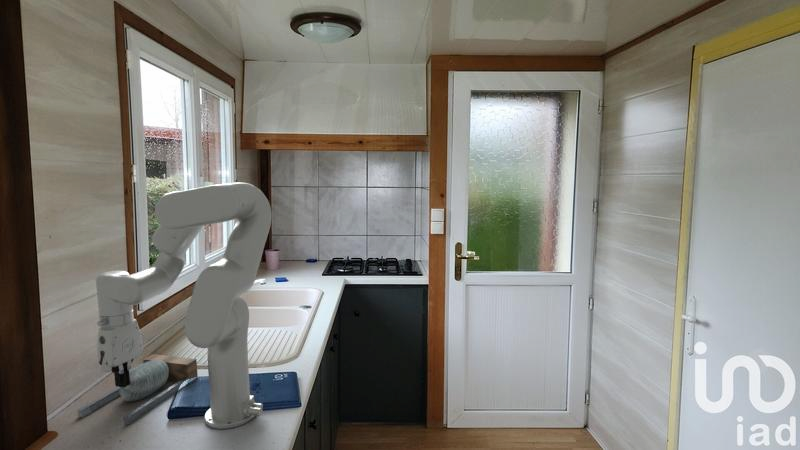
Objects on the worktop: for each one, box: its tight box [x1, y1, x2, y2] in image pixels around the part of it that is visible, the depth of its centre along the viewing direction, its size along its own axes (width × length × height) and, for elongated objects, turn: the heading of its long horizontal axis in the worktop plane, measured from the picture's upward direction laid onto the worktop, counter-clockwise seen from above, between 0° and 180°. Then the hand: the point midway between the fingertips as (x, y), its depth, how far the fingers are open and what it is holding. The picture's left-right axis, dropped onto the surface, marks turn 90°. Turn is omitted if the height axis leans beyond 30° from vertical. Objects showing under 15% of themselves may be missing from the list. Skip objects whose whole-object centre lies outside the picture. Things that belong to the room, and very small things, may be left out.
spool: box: [119, 360, 169, 403], centre depth 129 cm, size 14×10×10 cm
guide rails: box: [76, 377, 188, 426], centre depth 126 cm, size 15×22×2 cm
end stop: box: [142, 353, 199, 383], centre depth 138 cm, size 15×4×6 cm, turn 76°
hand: (122, 385), depth 121 cm, fingers closed
